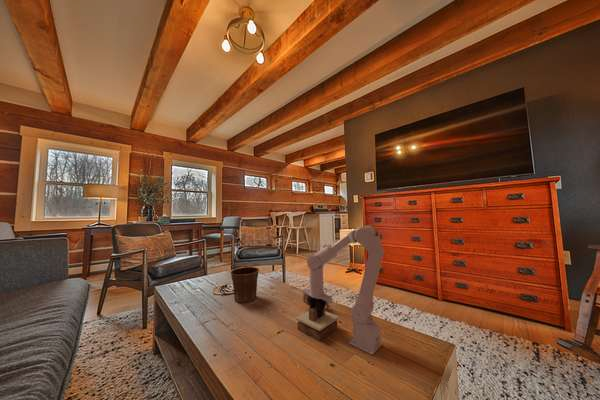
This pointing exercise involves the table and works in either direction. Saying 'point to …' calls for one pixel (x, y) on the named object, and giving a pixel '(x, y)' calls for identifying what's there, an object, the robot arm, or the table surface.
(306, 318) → the lid
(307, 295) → the lion figurine
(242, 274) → the plant pot
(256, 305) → the table surface
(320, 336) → the wooden tray
